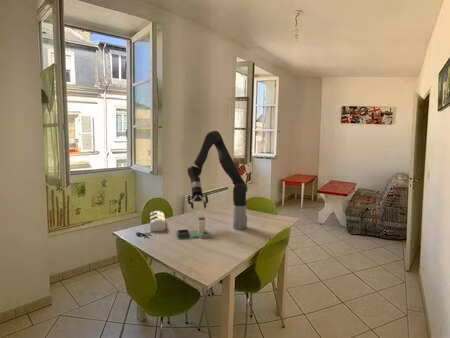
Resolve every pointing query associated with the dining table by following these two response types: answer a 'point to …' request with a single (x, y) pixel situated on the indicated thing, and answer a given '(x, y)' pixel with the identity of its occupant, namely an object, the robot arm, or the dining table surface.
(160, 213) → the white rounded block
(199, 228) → the plug
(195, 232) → the board
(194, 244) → the dining table surface
